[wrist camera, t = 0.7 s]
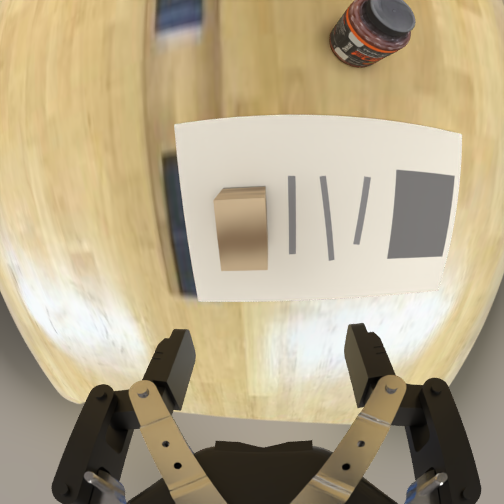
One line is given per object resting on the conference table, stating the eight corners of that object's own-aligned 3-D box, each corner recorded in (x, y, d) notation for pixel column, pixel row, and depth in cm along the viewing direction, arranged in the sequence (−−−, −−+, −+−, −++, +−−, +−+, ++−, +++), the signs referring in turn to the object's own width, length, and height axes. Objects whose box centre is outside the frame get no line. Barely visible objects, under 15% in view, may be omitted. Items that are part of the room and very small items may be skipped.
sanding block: (223, 187, 29) (213, 200, 24) (265, 185, 28) (264, 197, 23) (228, 247, 31) (221, 271, 27) (268, 246, 31) (267, 270, 26)
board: (178, 124, 27) (174, 124, 26) (455, 133, 25) (462, 134, 23) (201, 295, 36) (198, 301, 35) (433, 285, 34) (438, 290, 32)
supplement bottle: (339, 72, 24) (375, 44, 13) (320, 27, 21) (344, -18, 11) (385, 66, 22) (436, 43, 12) (366, 22, 20) (407, -15, 10)
